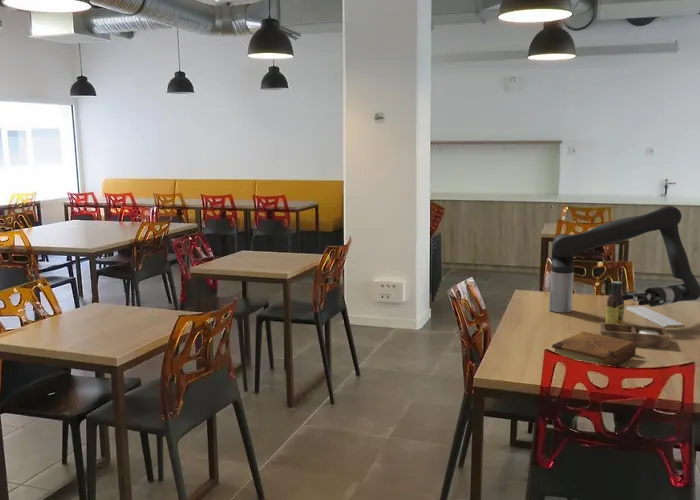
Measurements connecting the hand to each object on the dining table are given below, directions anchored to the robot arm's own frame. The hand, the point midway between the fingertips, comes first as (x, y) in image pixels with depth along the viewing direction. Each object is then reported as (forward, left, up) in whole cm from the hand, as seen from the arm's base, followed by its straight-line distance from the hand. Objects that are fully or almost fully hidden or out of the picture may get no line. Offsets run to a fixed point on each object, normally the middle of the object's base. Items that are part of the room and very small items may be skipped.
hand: (630, 300), depth 253 cm
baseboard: (+11, +24, -13) cm, 29 cm away
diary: (-14, -40, -13) cm, 44 cm away
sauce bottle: (-6, -6, -12) cm, 15 cm away
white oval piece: (+6, -17, -11) cm, 21 cm away
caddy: (0, -17, -12) cm, 20 cm away
